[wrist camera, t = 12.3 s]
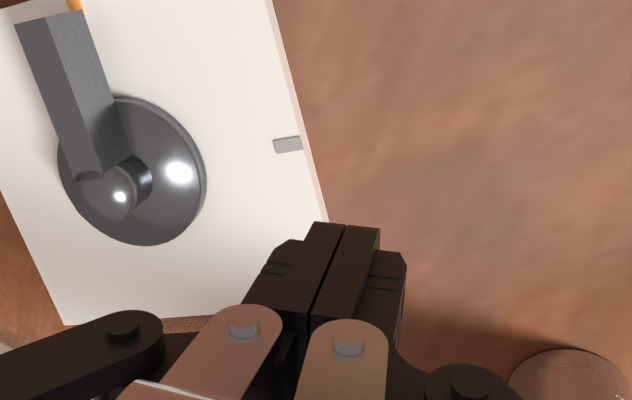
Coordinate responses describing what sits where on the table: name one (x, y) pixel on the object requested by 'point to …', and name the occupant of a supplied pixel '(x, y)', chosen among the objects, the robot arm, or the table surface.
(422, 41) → the table surface
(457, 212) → the table surface
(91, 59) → the dial
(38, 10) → the dial plate
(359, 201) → the table surface
